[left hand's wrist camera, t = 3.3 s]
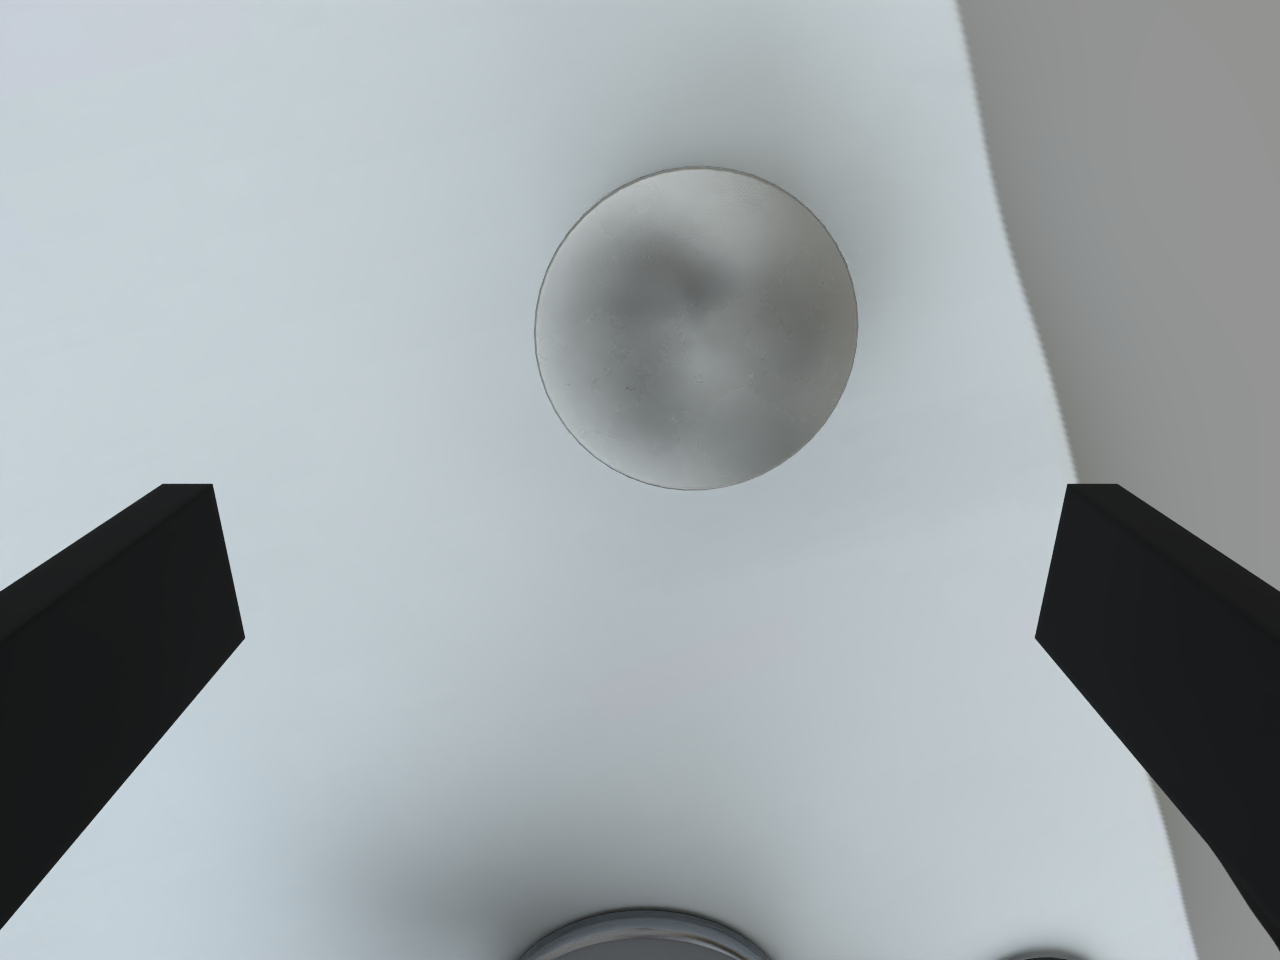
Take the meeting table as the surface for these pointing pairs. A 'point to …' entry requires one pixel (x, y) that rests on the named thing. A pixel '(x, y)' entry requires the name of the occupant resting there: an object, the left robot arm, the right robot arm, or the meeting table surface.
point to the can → (696, 328)
